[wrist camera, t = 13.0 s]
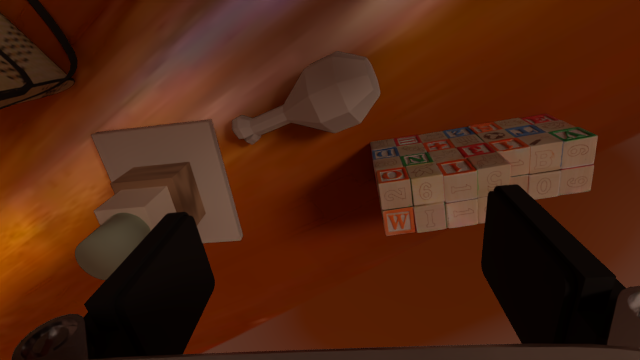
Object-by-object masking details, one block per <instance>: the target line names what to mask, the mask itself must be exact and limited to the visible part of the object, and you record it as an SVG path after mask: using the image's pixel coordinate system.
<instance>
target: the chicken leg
mask: <svg viewBox="0 0 640 360" xmlns="http://www.w3.org/2000/svg"><path fill="white" fill-rule="evenodd" d="M379 95H380V88H379V84H378V80H377V77H376V75H375V72H374V70H373V67H372V65H371V63H370V62H369V60H368V59H367V58H366V57H362V56H358V55H353V54H348V53H343V52H339V51H337V52H334V53H332V54H330V55H328V56H326V57H324V58H322V59H320V60H318V61H316V62H314V63H312V64H310V65H309V66H308V67H306V68H305V69H304V70H303V72H302V73H301V75H300V77H299V79H298V80H297V82H296V84H295V86H294V87H293V89H292V91H291V93H290V94H289V96H288V98H287V99H286V101H285V103H284V105H281V106H279V107H277V108H275V109H272V110H270V111H268V112H266V113H263V114H261V115H259V116H257V117H254V118H250V117H247V116H244V115H241V116H239V117H237V118H235V119H234V120H232V130H233V132H234V133H235V135H236V136H237V137H238V138H239V139H244V140H245V141H246V142H248V143H250V144H252V145H253V144H254V143H255V142H257V141H258V140H259V139H260V138H261V135H262V134H265V133H267V132H270V131H272V130H274V129H277V128H279V127H282V126H284V125H287V124H289V123H295V124H299V125H303V126H307V127H311V128H315V129H320V130H324V131H328V132H332V133H337V132H339V131H342V130H344V129H347V128H349V127H352V126H355V125H357V124H360V123H361V122H362V120H363V119H364V118H365V116H366V115H367V113H368V112H369V110H370V109H371V107H372V106H373V105H374V103H375V102H376V100H377V99H378V97H379Z"/></svg>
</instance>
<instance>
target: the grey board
mask: <svg viewBox="0 0 640 360" xmlns="http://www.w3.org/2000/svg"><path fill="white" fill-rule="evenodd" d="M91 136H92V139H93V141H94V143H95V145H96V148H97V150H98V152H99V155H100V157H101V159H102V162H103V164H104V166H105V169H106V171H107V173H108V175H109V178H110V180H111V182H113V181H115V180H116V179H117V178H119V177H120V176H122V175H123V174H125V173H126V172H127V171H129V170H130V169H132V168H133V167H142V166H151V165H161V164H171V163H181V162H190V165H191V168H192V171H193V174H194V178H195V181H196V184H197V187H198V190H199V193H200V197H201V200H202V203H203V206H204V209H205V212H206V214H205V215H204V217H203V218H202V220H201V221H200V222H199V224H198V225H197V228H198V231H199V234H200V237H201V240H202V243H211V242H225V241H239V240H241V239H242V237H243V234H242V230H241V226H240V223H239V219H238V215H237V212H236V208H235V204H234V200H233V197H232V193H231V189H230V186H229V182H228V178H227V174H226V171H225V167H224V163H223V160H222V156H221V152H220V148H219V145H218V141H217V137H216V134H215V130H214V126H213V123H212V119H209V120H200V121H191V122H183V123H174V124H165V125H156V126H148V127H139V128H130V129H121V130H112V131H104V132H97V133H94V134H92V135H91Z"/></svg>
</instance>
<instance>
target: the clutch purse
mask: <svg viewBox="0 0 640 360" xmlns="http://www.w3.org/2000/svg"><path fill="white" fill-rule="evenodd" d="M28 2H29V3H30V4H31V5H32V6H33V8H34V9H35V10H36V11H37V12H38V14H39V15H40V16H41V17H42V18H43V20H44V21H45V22H46V24H47V25H48V26H49V28H50V29H51V30H52V32H53V33H54V34H55V36H56V37H57V39H58V40H59V42H60V43H61V45H62V47H63V48H64V50H65V52H66V53H67V55H68V57H69V60H70V63H71V65H70V71H69V73H68V74H67V75H66V74H65V73H64V72H63V71H62V70H61V69H60V68H59V67H58V66H57V65H56V64H55V63H54V62H53V61H51V60H50V59H49V58H48V57H47V56H46V55H45V54H44V53H43V52H42V51H41V50H40V49H39V48H38V47H37V46H35V45H34V44H33V43H32V42H31V41H30V40H29V39H28V38H27V37H26V36H25V35H24V34H23V33H22V32H21V31H19V30H18V29H17V28H16V27H15V26H14V25H13V24H12V23H11V22H10V21H9V20H8V19H7V18H6V17H5V16H3V15H2V14H1V13H0V109H2V108H5V107H8V106H11V105H14V104H18V103H22V102H26V101H30V100H34V99H38V98H42V97H46V96H49V95H53V94H56V93H59V92H61V91H64V90H66V89H68V88H69V87H71V86H72V85H73V84H74V82H75V81H74V79H73V78H70V77H71V76H72V75H73V74H74V73H75V71H76V69H77V57H76V54H75V52H74V50H73V48H72V47H71V45H70V43H69V42H68V40H67V38H66V37H65V35H64V34H63V32H62V31H61V30H60V28H59V27H58V25H57V24H56V23H55V21H54V20H53V19H52V17H51V16H50V15H49V13H48V12H47V11H46V10H45V8H44V7H43V6H42V5H41V4H40V2H39V1H38V0H28Z"/></svg>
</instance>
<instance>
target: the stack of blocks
mask: <svg viewBox="0 0 640 360" xmlns="http://www.w3.org/2000/svg"><path fill="white" fill-rule="evenodd" d="M597 137H598V136H597V135H595V134H593V133H591V132H588V131H586V130H584V129H582V128H580V127H575V126H573V125H571V124H568V123H566V122H564V121H562V120H558V119H556V118H554V117H552V116H550V115H548V114H542V115H536V116H531V117H525V118H515V119H509V120H503V121H497V122H491V123H485V124H478V125H472V126H468V127H464V128H458V129H452V130H445V131H442V132H435V133H429V134H423V135H413V136H407V137H401V138H395V139H387V140H381V141H375V142H370V147H371V154H372V160H373V166H374V172H375V179H376V186H377V191H378V197H379V203H380V209H381V214H382V219H383V223H384V228H385V233H386V236H389V235H397V234H405V233H412V232H418V233H420V232H428V231H434V230H441V229H446V228H447V227H448V228H456V227H463V226H468V225H476V224H478V223H485V218H486V207H487V196H488V193H489V192H490V191H494V188H495V187H496V186H501V185H513V184H518V185H519V186H520V187H521V188H522V189H524V190H525V191H526V192H527V193H528V194H529V195H530V196H531V197H532V198H533V199H542V198H548V197H556V196H559V195H565V194H572V193H579V192H587V191H590V190H591V183H592V176H593V170H594V164H593V163H594V158H595V152H596V145H597Z"/></svg>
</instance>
